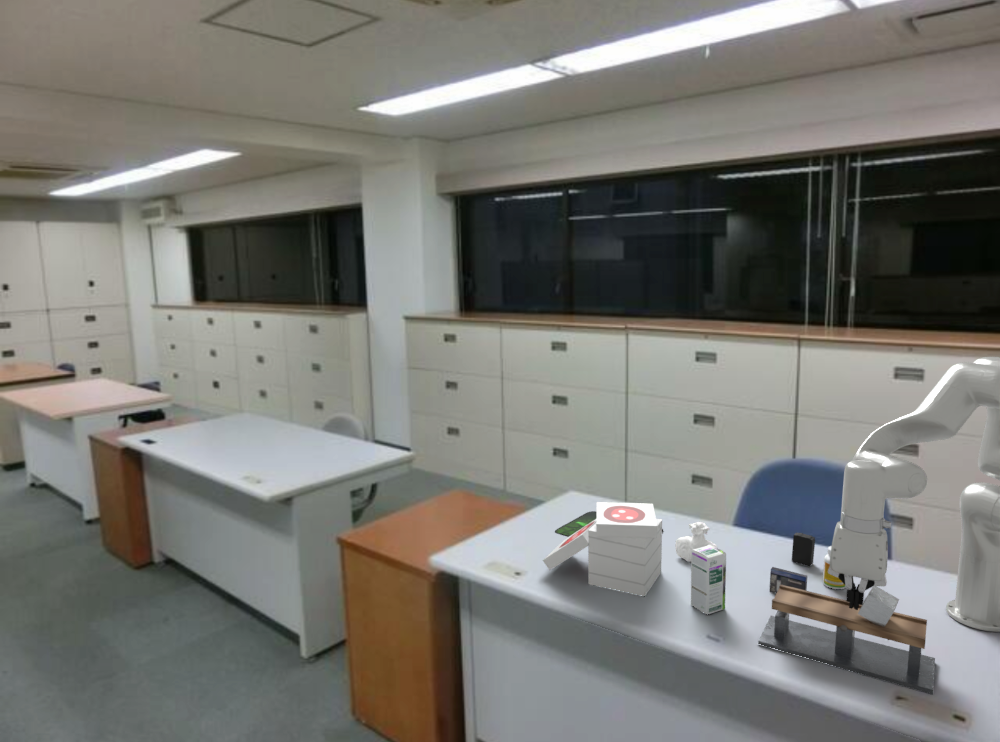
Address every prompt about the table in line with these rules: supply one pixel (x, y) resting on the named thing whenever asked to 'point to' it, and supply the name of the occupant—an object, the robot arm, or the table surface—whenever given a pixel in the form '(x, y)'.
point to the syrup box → (708, 579)
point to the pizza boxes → (618, 547)
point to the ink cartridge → (803, 549)
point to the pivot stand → (851, 652)
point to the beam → (848, 616)
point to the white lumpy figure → (693, 541)
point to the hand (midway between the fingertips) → (854, 606)
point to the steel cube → (878, 606)
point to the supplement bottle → (830, 579)
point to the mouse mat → (577, 524)
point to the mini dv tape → (786, 579)
